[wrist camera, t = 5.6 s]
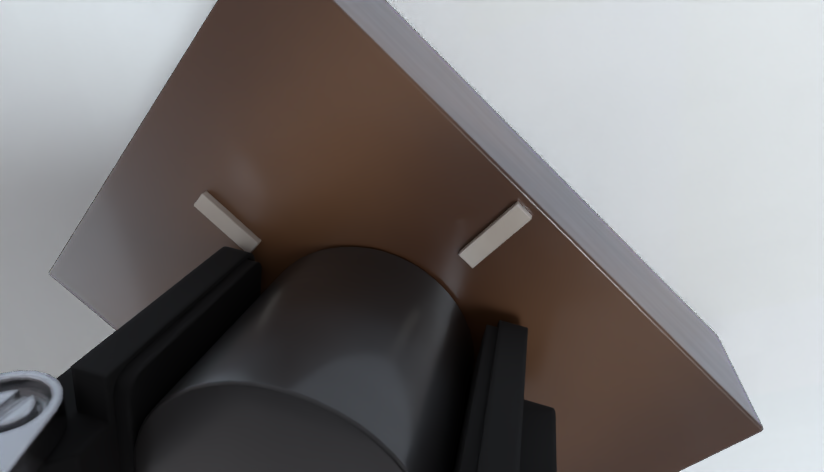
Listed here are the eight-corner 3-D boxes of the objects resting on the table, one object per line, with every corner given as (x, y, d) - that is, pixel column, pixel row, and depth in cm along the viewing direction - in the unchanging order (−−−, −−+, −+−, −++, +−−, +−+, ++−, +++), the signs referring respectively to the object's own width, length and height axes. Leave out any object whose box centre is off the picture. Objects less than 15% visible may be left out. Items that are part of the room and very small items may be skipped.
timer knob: (349, 199, 10) (219, 333, 6) (523, 358, 10) (507, 577, 6) (227, 333, 12) (68, 499, 8) (378, 461, 12) (300, 675, 8)
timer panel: (719, 337, 12) (768, 437, 10) (449, 496, 16) (428, 600, 14) (330, -57, 11) (255, -73, 8) (136, 223, 15) (40, 277, 12)
